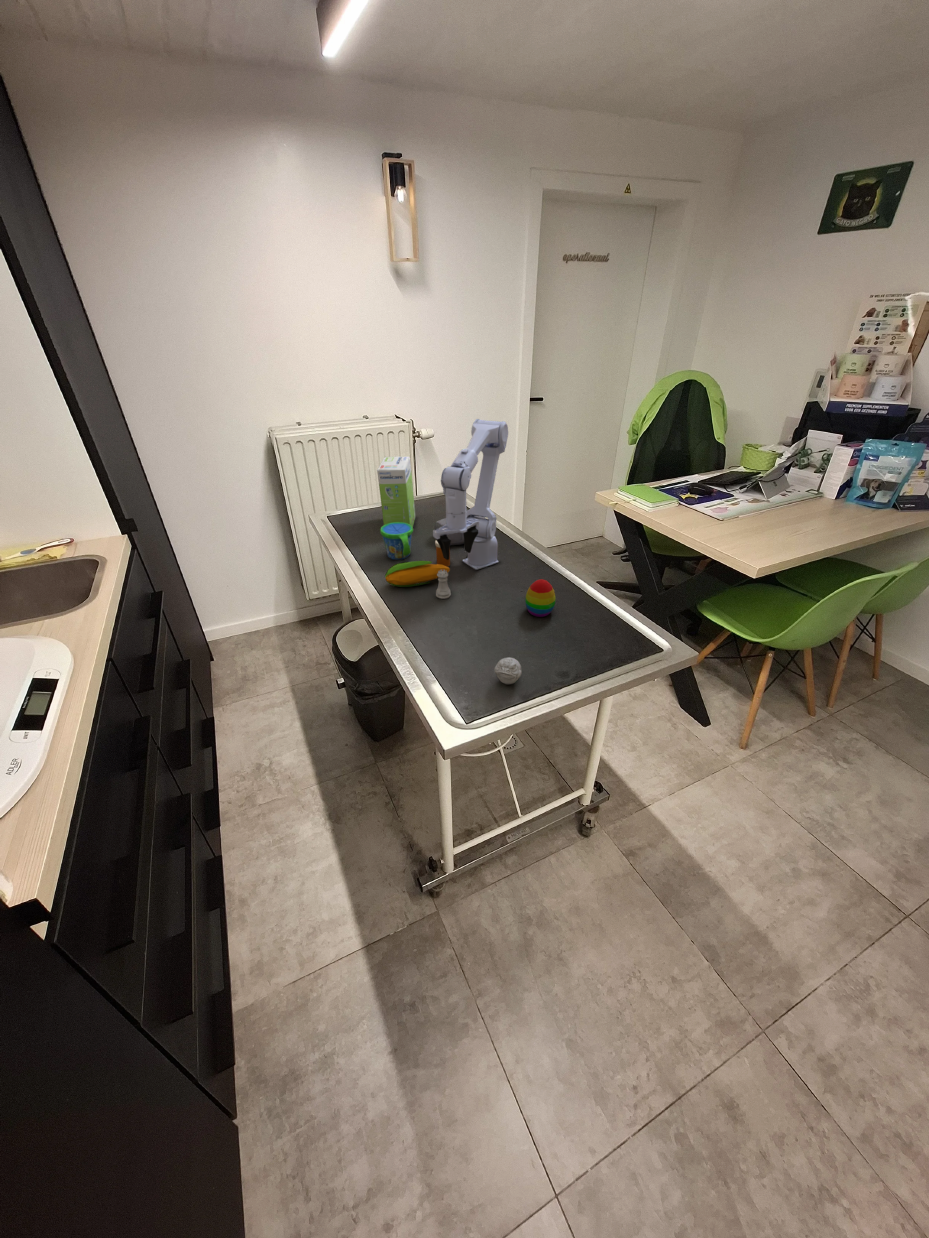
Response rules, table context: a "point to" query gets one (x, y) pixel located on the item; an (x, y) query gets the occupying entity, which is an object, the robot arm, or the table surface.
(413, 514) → the toothbrush box
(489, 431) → the robot arm
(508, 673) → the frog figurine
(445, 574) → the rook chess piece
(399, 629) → the table surface
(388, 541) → the snack cup
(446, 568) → the corn
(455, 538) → the soft grey pack
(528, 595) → the decorative egg
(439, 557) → the pill bottle
